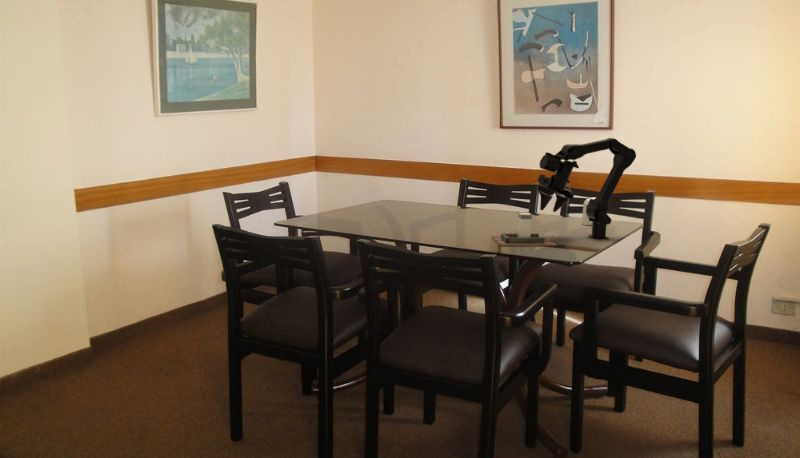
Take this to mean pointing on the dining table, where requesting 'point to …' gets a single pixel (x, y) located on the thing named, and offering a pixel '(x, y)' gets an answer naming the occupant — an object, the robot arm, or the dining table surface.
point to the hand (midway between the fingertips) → (547, 210)
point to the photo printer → (585, 218)
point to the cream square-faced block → (524, 225)
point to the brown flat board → (523, 240)
